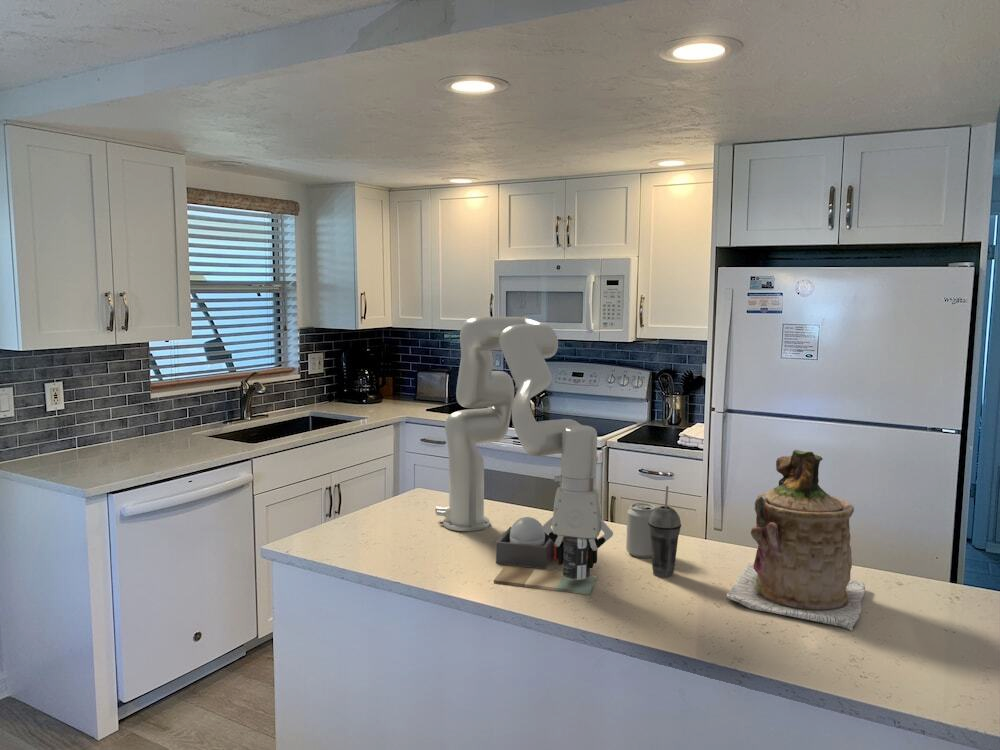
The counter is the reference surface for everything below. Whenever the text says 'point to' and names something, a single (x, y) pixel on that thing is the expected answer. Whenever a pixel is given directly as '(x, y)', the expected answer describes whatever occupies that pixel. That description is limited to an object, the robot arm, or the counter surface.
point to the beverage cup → (664, 539)
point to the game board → (543, 580)
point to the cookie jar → (801, 550)
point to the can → (639, 529)
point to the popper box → (524, 552)
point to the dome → (527, 532)
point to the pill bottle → (576, 558)
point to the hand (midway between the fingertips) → (576, 563)
